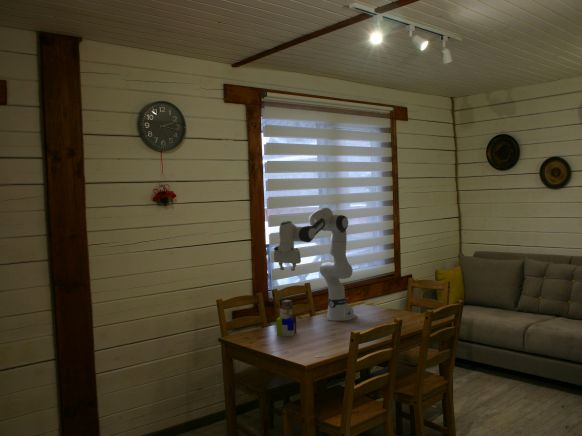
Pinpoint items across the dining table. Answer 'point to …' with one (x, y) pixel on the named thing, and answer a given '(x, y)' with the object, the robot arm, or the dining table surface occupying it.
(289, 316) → the block birch
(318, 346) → the dining table surface
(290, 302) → the block walnut
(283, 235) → the robot arm
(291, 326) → the puzzle toy
